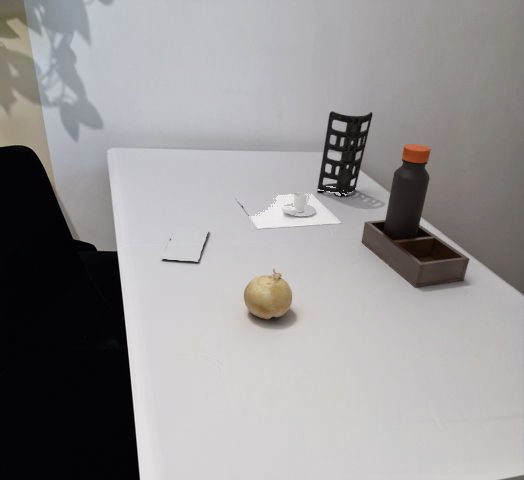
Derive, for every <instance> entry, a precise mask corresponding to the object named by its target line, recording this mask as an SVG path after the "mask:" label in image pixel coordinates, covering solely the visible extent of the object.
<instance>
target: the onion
mask: <svg viewBox="0 0 524 480" xmlns="http://www.w3.org/2000/svg"><path fill="white" fill-rule="evenodd" d="M272 272H273V274H271V275H260V276H259V275H258V276H256V277H255V278H253V279H251V280H250V281H249V282H248V283H247V285H246V286H245V288H244V291H243V301H244V305H245V306H246V308H247V310H248V311H249V312H250V313H251V314H252V315H254V316H255V317H257V318H260V319H262V320H263V319H264V320H271V318H280V317H282V316H284V315H285V314H286V313H287V312H288V311H289V309H290V308H291V306H292V303H293V291H292V288H291V286H290V285H289V283H288V282H287V281H286V280H285V279H284V278H283V277H282V275H283V274H282V273H281V272H276V269H275V268H273V269H272Z"/></svg>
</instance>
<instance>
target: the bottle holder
mask: <svg viewBox="0 0 524 480" xmlns="http://www.w3.org/2000/svg"><path fill="white" fill-rule="evenodd" d="M384 225H385V219H380V220H370V221H364V224H363V230H362V238H361V244H363V245H364V246H365V247H366V248H367V249H369V250H370V251H371V252H373V254H375V256H377V257H378V258H380V260H382V262H384V263H385V264H386V265H388V266H389V267H390V268H391V269H393V271H395V272H396V273H397V274H398V275H399V276H400V277H402V278H403V279H404V280H405V281H407V283H409V284H410V285H411V286H412V287H414V288H421V287H429V286H436V285H443V284H451V283H456V282H464V279H465V277H466V273H467V270H468V266H469V263H470V258H469V257H468V256H466V255H465V254H464V253H462V252H461V251H459V249H456V248H455V247H453V246H452V245H450V244H449V243H448V242H446V241H444V240H443V239H441V238H440V237H439V236H437V235H436V234H434V233H432V232H431V231H430V230H428V229H427V228H425V227H423V225H421V224H419V229H418V233H417V238H412V239H403V240H394V241H393V240H392V239H390V238H389V237H388V236H387V235H385V234H384V233H383V230H384Z"/></svg>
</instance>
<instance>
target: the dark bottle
mask: <svg viewBox="0 0 524 480" xmlns="http://www.w3.org/2000/svg"><path fill="white" fill-rule="evenodd" d="M431 151H432V149H431V148H430V147H429V146H426V145H423V144H417V143H416V144H415V143H412V144H410V143H409V144H405V145H404V146H403V150H402V155H401V162H402V165H401V166H399V167H398V168H397V169H395V171H394V172H393V177H392V181H391V188H390V193H389V197H388V198H389V199H388V202H387V203H388V204H387V208H386V215H385V219H384V220H385V225H384V230H383V233H384V234H385V235H387V236H388V237H389V238H390V239H392V240H393V241H394V240H403V239H412V238H417V233H418V229H419V225H421V219H422V215H423V210H424V206H425V201H426V197H427V191H428V188H429V184H430V174H429V172H428V170H427V169H426V165H428V162H429V159H430V155H431Z"/></svg>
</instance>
